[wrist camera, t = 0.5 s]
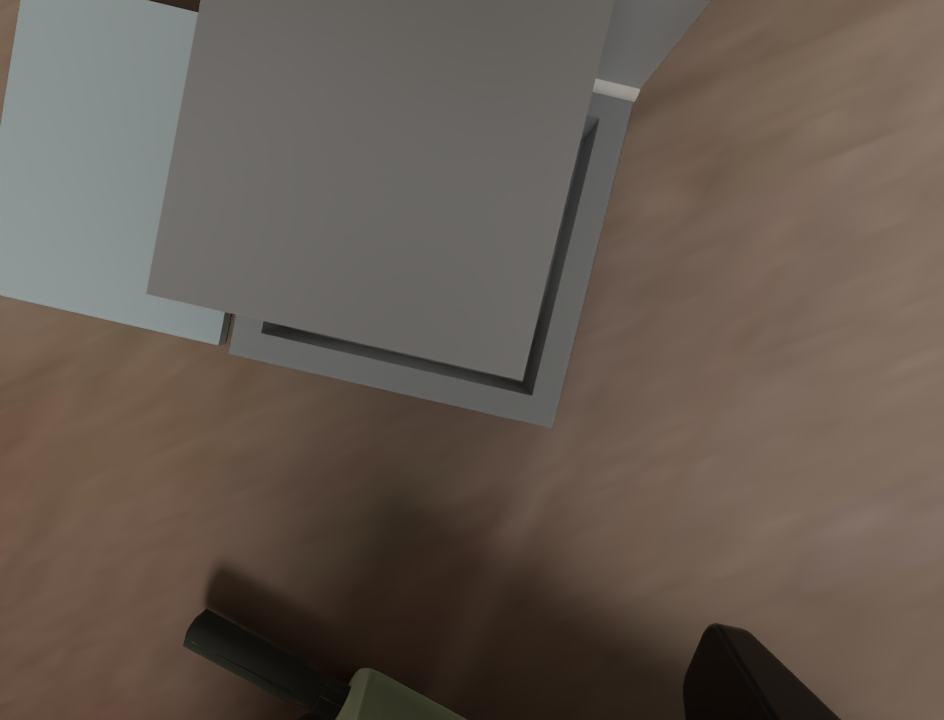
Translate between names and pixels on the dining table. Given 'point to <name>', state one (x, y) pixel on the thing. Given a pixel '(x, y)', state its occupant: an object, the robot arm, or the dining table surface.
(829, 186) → the dining table surface
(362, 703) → the handheld radio
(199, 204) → the block
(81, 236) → the pad
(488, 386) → the case
